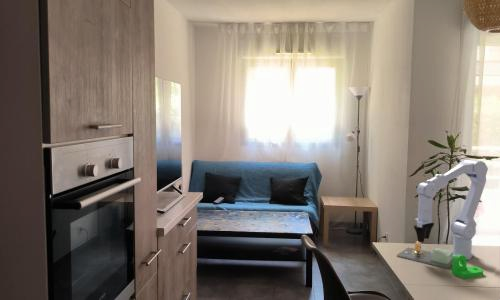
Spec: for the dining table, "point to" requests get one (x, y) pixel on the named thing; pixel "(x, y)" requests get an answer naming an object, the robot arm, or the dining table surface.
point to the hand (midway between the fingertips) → (423, 240)
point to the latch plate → (422, 257)
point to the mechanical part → (464, 268)
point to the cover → (441, 255)
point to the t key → (417, 246)
